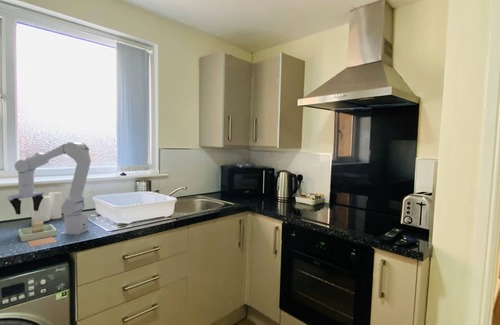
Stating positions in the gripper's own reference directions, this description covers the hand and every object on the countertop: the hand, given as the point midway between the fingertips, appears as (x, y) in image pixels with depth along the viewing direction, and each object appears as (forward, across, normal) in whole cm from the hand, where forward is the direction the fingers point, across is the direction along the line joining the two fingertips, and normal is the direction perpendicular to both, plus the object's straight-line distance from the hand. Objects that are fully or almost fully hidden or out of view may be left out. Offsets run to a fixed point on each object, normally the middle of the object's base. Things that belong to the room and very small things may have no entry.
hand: (27, 212), depth 133 cm
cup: (+10, -13, -12) cm, 20 cm away
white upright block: (+10, -22, -14) cm, 28 cm away
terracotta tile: (+10, +6, +22) cm, 25 cm away
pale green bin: (+10, +2, +10) cm, 14 cm away
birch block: (+9, +2, +10) cm, 14 cm away
